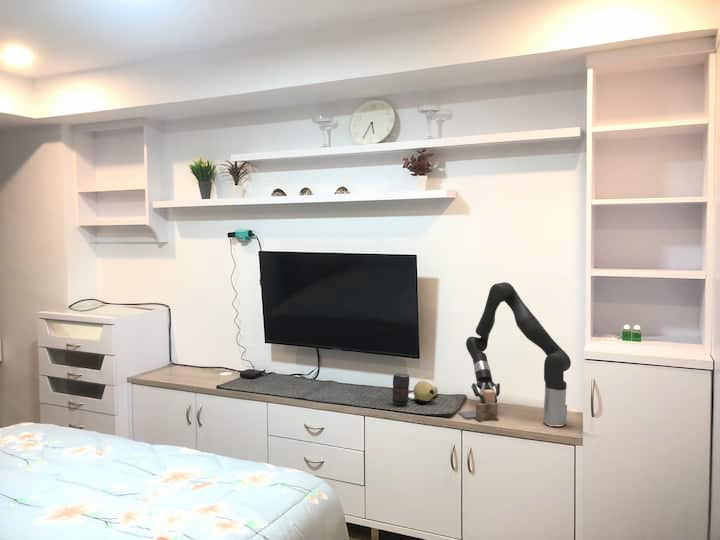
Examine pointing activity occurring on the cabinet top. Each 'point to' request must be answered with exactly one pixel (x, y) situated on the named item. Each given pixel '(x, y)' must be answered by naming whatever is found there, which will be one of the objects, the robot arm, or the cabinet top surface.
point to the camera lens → (400, 389)
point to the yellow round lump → (424, 391)
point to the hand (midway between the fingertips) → (489, 403)
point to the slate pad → (468, 414)
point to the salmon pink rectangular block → (489, 396)
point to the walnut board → (486, 412)
